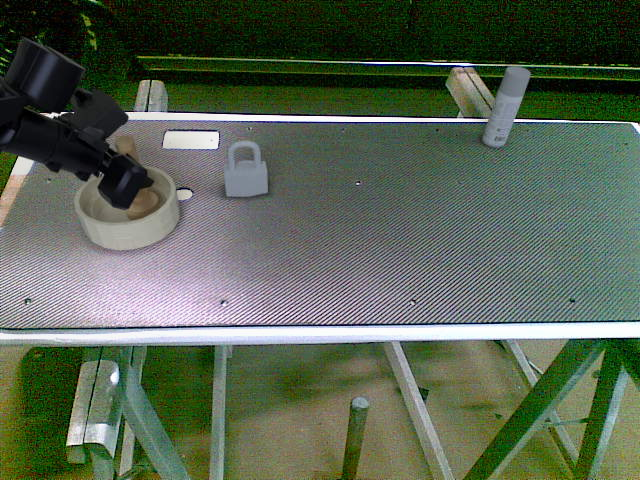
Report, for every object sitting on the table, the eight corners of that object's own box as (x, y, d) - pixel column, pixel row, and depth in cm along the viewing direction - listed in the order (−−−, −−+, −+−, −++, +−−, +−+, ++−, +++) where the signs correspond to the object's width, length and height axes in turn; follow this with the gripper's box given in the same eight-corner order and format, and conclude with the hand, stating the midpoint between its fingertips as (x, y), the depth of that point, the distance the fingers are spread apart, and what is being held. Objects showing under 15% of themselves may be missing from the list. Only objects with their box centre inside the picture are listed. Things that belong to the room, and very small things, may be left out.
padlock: (265, 181, 84) (263, 132, 77) (268, 195, 82) (267, 146, 75) (225, 184, 83) (219, 135, 76) (226, 199, 80) (221, 149, 73)
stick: (130, 226, 74) (108, 154, 64) (123, 206, 77) (101, 135, 67) (164, 217, 75) (147, 146, 66) (156, 198, 79) (139, 127, 69)
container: (507, 139, 99) (534, 70, 88) (501, 150, 96) (528, 79, 85) (485, 132, 100) (509, 63, 90) (478, 142, 97) (502, 72, 87)
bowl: (93, 264, 69) (82, 237, 65) (79, 204, 77) (68, 177, 73) (191, 236, 74) (186, 209, 70) (167, 183, 82) (162, 157, 79)
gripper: (115, 112, 53) (206, 156, 67) (40, 56, 62) (135, 105, 76) (68, 197, 55) (168, 223, 68) (2, 130, 63) (102, 165, 77)
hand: (143, 175), depth 72 cm, fingers open, 5 cm apart
